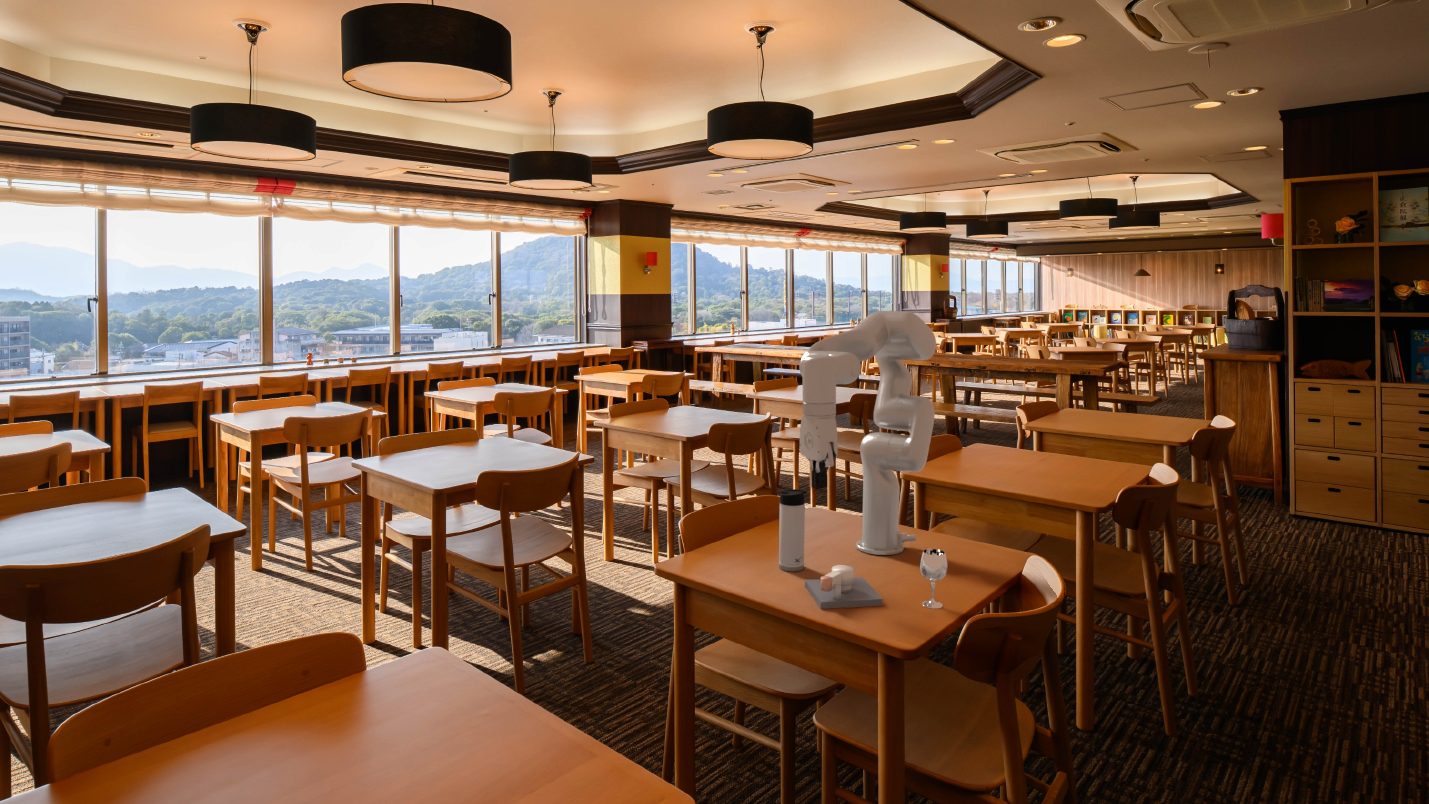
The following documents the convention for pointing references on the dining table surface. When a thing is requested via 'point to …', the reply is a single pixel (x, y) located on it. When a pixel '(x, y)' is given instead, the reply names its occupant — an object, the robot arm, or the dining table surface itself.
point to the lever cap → (837, 577)
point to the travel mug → (791, 530)
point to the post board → (844, 594)
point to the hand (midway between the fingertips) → (819, 487)
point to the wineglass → (933, 571)
